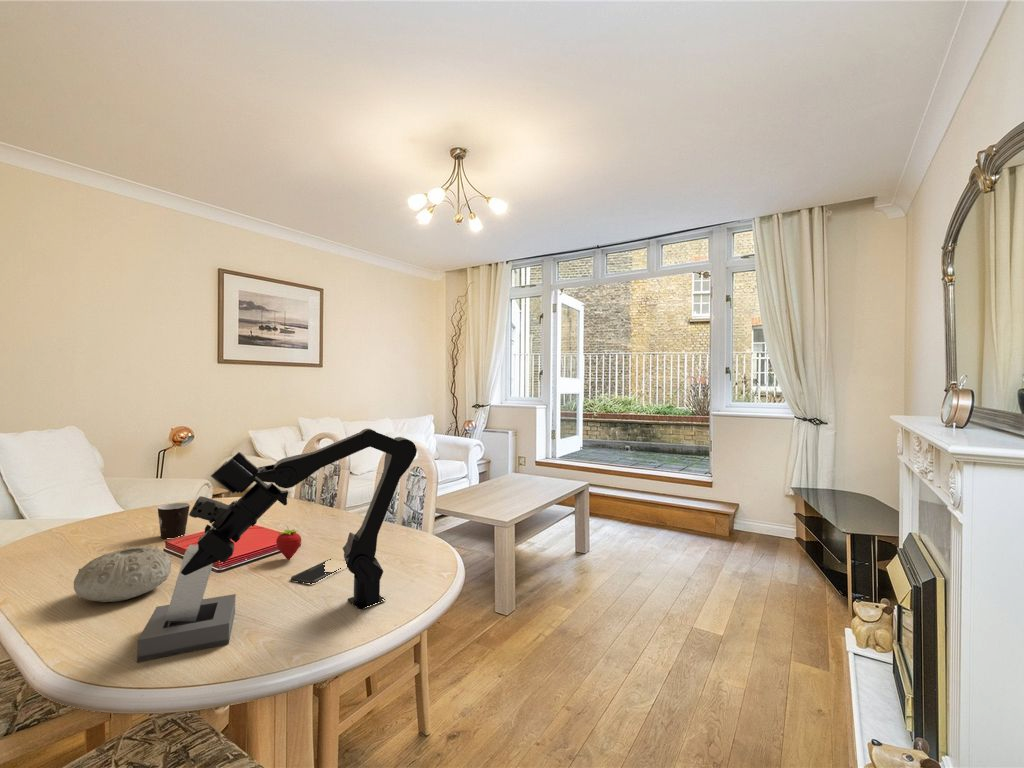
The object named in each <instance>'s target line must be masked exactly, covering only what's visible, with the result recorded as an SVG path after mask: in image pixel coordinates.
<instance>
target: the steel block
mask: <svg viewBox="0 0 1024 768" xmlns="http://www.w3.org/2000/svg"><path fill="white" fill-rule="evenodd" d="M197 550H198V544H189V545H188V547H187V549H186V550H185V552H184V555H183V558H182V561H181V565H180V569H179V572H178V575H177V578H176V582H175V585H174V589H173V592H172V596H171V599H170V602H169V604H168V605H169V608H168V612H167V615H166V618H165V621H193V622H195V621H196V618H197V616H198V613H199V610H200V607H201V603H202V600H203V599H204V597H205V593H206V589H207V585H208V581H209V579H210V577H211V576H210V575H211V572H212V570H213V569H212V568H213V564H214V563H212V564H210V565H208V566H206V567H203V568H201V569H199V570H197V571H194V572H192V573H190V574H188V575H186V576H185V575H183V574H182V573H181V571H182V570H183V569H184V567H185V566H186V565H187V563H188V562H189V561H190V559H191V558H192V557H193V556H194V554H195V553H196V552H197Z"/></svg>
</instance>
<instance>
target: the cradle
mask: <svg viewBox="0 0 1024 768" xmlns="http://www.w3.org/2000/svg"><path fill="white" fill-rule="evenodd" d="M236 594H237V593H234V594H233V593H231V594H227V595H220V596H215V597H209V598H208V597H207V598H203V600H202V603H201V607H200V610H199V613H198V616H197V618H196V621H195V622H193V621H165V618H166V615H167V612H168V608H169V605H170V604H165V605H159V606H156V607H155V609H154V610H153V613H152V614H151V615H150V618H149V620H148V621H147V623H146V625H145V626H144V628H143V630H142V632H141V633H140V635H139V637H138V639H137V648H136V649H137V650H136V651H137V653H136V663H141V662H146V661H152V660H156V659H161V658H166V657H171V656H177V655H180V654H187V653H191V652H196V651H201V650H206V649H210V648H217V647H221V646H226V645H229V644H230V639H231V634H232V631H233V625H234V618H235V615H236V600H237V599H236V598H237V597H236V596H237V595H236Z"/></svg>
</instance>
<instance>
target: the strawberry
mask: <svg viewBox="0 0 1024 768" xmlns="http://www.w3.org/2000/svg"><path fill="white" fill-rule="evenodd" d="M285 526H286V527H287V529H284V531H283V532H279V533H278V536H277V538H276V541H275V542H276V545H277V549H278V550H279V551H280V553H281V554H282V555H283V556H284V557H285V559H286V558H287V560H291V559H292V557H294V555H295V554H296V552H298V550H299V548H300V547H301V543H302V537H301V535H300V534H299V533H298V530H296V529H295V528H294V529H290V530H289V527H288V525H285ZM290 558H291V559H290Z"/></svg>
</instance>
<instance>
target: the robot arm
mask: <svg viewBox="0 0 1024 768" xmlns="http://www.w3.org/2000/svg"><path fill="white" fill-rule="evenodd" d="M367 448H373V449H375V450H378V451H381V452H382V453H385V454H384V455H385V456H384V460H383V461H384V463H383V471H382V473H381V477H380V479H379V482H378V484H377V486H376V489H375V491H374V494H373V496H372V499H371V501H370V504H369V506H368V509H367V511H366V513H365V516H364V519H363V520H362V523H361V525H360V528H359V529H358V530H357V531H356V533H352V532H348V537H347V541H346V543H345V544H344V546H343V547H342V551H343V558H344V561H346V564H347V567H348V568H347V569H348V571H349V572H350V573H351V574H354V575H353V596H352V597H348V598H346V599H347V602H348V603H349V602H350V603H349V604H351V605H352V604H353V605H354V606H353V605H352V606H353V607H355V606H356V607H357V608H356V607H355V608H356V609H358V610H359V609H362V610H364V609H363V608H365V607H367V606H370V605H373V604H375V603H378V602H381V601H383V600H382V599H384V598H385V597H383V596H382V595H380V594H381V593H380V589H381V588H380V587H381V585H380V584H381V579H382V577H383V574H384V570H383V568H382V566H381V563H380V562H379V561H378V559H377V557H376V552H377V544H378V535H379V533H380V530H381V527H382V524H383V522H384V520H385V517H386V515H387V513H388V510H389V507H390V505H391V503H392V502H391V501H392V500H393V498H394V496H395V495H394V494H395V492H396V490H397V487H398V484H399V482H400V479H401V478H402V476H403V475H404V474H405V473H406V471H407V470H409V468H410V466H411V464H412V463H413V462H414V460H415V458H416V456H417V451H418V449H417V446H416V444H415V443H414V442H413V441H412V440H410V439H408V438H405V437H403V436H398V437H394V438H393V437H390V436H388V435H385V434H383V433H379V432H377V431H376V430H373V429H372V428H364V429H362V430H361V431H359V432H356V433H354V434H352V435H350V436H347V437H346V438H343V439H340V440H338V441H336V442H333V443H330V444H329V445H326V446H324V447H321V448H319V449H317V450H314V451H311V452H307V453H302V454H296V455H292V456H288V457H284V458H281V459H280V460H278V461H276V462H275V464H269V465H263V466H259V467H257V466H256V465H255V464H253V463H252V462H251V461H250V460H249V459H247V457H246V456H245V455H244V454H243V453H242V452H240V451H239V452H236V454H235V455H234V456H232V457H231V458H230V459H228V460H226V461H225V462H224V463H223V464H221V465H220V466H219V467H218V468H217V469H216V470H215V471H213V473H212V474H211V475H210V477H211V478H212V479H213V480H214V481H216V482H217V483H219V484H220V485H221V486H222V487H224V488H225V489H226V490H228V491H229V492H230V493H231V494H234V493H236V494H239V493H240V494H242V493H243V492H245V491H246V490H247V489H248V490H247V491H246V492H245V493H244V494H243V495H242V496H240V498H239V499H237V500H233V501H231V503H230V504H226V503H224V502H222V501H220V500H219V501H218V500H216V499H212V498H209V497H206V496H199V497H198V498H197V499H196V500H195V503H193V506H192V508H191V510H189V511H190V512H189V513H188V517H189V516H190V517H192V518H194V519H197V518H199V519H201V520H204V521H208V523H209V524H211V525H209V524H206V526H205V528H204V534H202V535H201V536H200V537H199V538H198V540H197V544H196V545H198V550H197V552H196V553H195V554H194V556H193V557H192V558H191V559H190V561H189V562H188V563H187V565H186V566H185V567H184V569H183V570H182V571H181V573H182V574H183V575H185V576H186V575H188V574H190V573H192V572H194V571H197V570H199V569H201V568H203V567H206V566H208V565H210V564H212V563H213V564H215V563H217V562H221V563H224V564H225V563H226V562H227V561H228V560H229V559H230V558H231V557H232V556H233V555H234V551H235V543H237V542H238V541H239V540H240V539H241V537H242V535H244V533H246V531H248V530H249V528H250V527H254V526H255V525H256V524H257V523H258V522H257V521H258V520H259V519H260V518H261V517H262V516H263V515H264V514H265V513H266V512H267V511H268V510H269V509H271V507H272V506H273V505H274V504H275V503H277V502H279V503H280V504H281V505H283V506H287V504H288V496H289V490H281V489H280V488H282V489H291V488H293V487H295V486H296V485H299V484H300V483H301V482H303V481H305V480H306V479H308V478H309V477H310V476H311V475H312V474H314V473H315V472H317V471H318V470H320V469H322V468H324V467H326V466H328V465H330V464H333V463H335V462H337V461H340V460H342V459H345V458H346V457H349V456H351V455H354V454H356V453H358V452H360V451H363V450H364V449H367ZM254 482H255V484H254V485H253V486H252V484H253V483H254ZM267 483H269V484H267ZM250 486H251V487H250ZM249 487H250V489H249ZM381 596H382V597H381ZM384 600H385V601H386V598H385V599H384ZM365 609H366V608H365Z"/></svg>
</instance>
